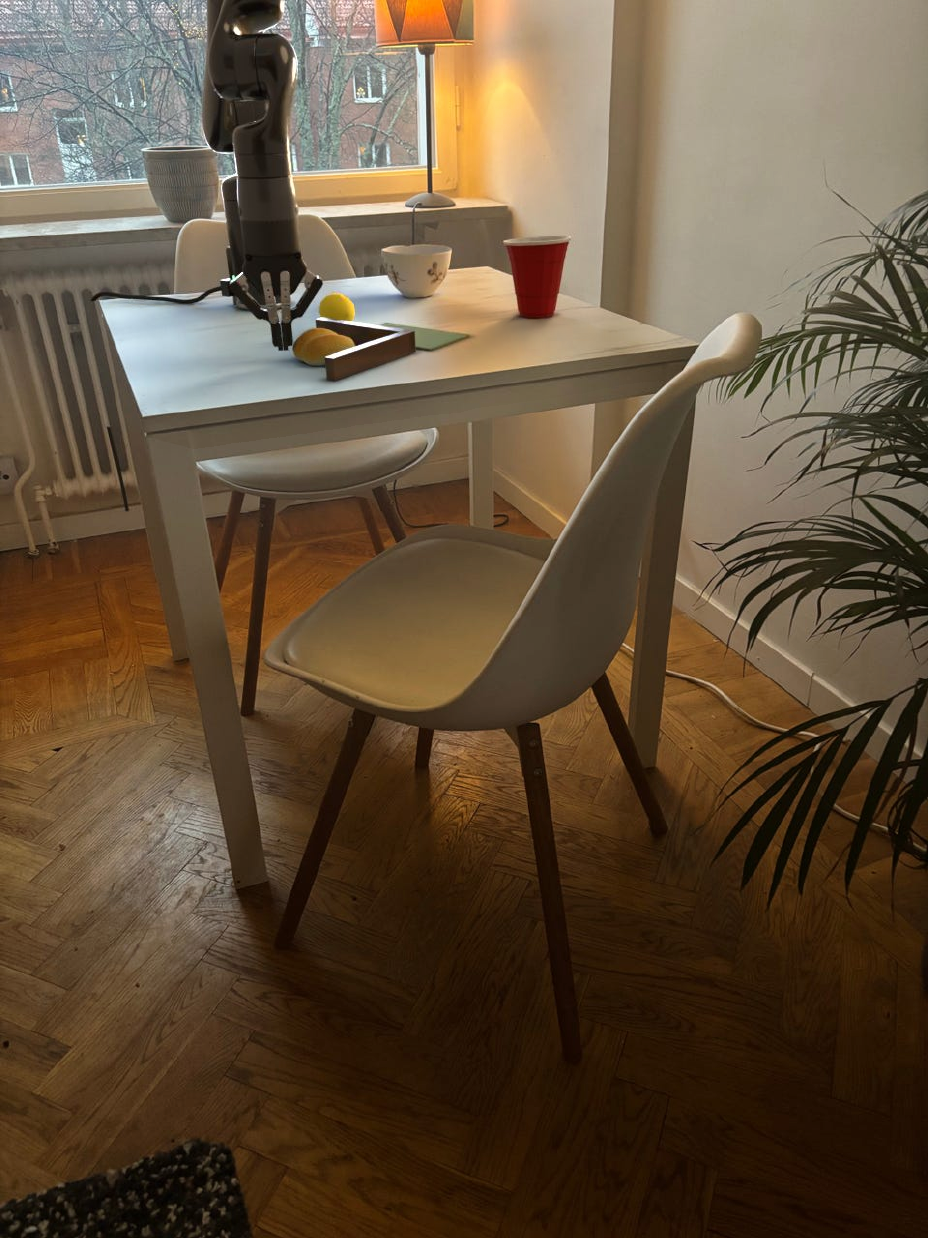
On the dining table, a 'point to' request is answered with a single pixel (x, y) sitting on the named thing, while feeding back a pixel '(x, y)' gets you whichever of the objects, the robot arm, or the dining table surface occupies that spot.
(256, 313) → the robot arm
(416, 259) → the teacup
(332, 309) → the lemon
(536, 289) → the plastic cup
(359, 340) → the corner guide
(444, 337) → the cloth
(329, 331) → the bread roll
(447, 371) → the dining table surface
